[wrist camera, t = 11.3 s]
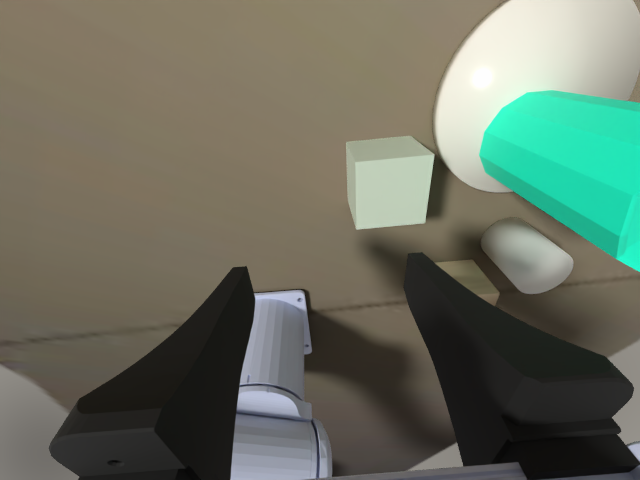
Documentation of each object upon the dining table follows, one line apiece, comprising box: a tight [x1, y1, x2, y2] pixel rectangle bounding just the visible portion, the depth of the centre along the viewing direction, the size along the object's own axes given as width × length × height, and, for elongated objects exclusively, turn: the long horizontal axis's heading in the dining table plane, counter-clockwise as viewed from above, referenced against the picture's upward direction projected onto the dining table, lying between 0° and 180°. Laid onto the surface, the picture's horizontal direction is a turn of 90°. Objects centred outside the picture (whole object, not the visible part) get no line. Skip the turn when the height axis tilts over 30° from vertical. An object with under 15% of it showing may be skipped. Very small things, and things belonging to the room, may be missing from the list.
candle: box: [479, 90, 640, 272], centre depth 14 cm, size 6×6×12 cm
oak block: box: [435, 259, 500, 306], centre depth 26 cm, size 4×4×4 cm
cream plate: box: [432, 0, 640, 192], centre depth 18 cm, size 12×12×1 cm
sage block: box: [346, 136, 434, 230], centre depth 19 cm, size 4×4×4 cm
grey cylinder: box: [481, 217, 573, 294], centre depth 23 cm, size 4×4×5 cm
